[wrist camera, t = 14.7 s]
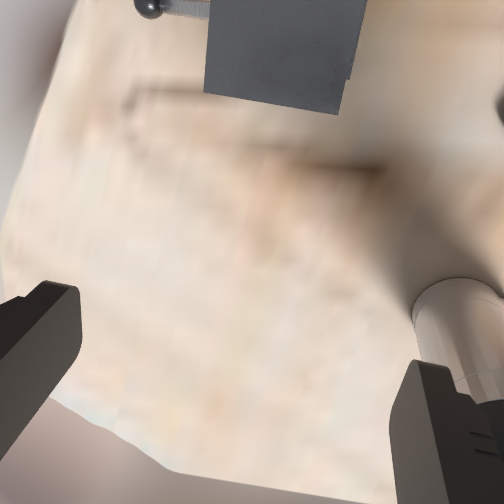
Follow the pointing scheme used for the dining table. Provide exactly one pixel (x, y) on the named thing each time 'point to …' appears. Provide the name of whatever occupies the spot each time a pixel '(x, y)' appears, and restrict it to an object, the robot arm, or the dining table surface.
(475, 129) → the dining table surface
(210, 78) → the vise stand
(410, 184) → the dining table surface
